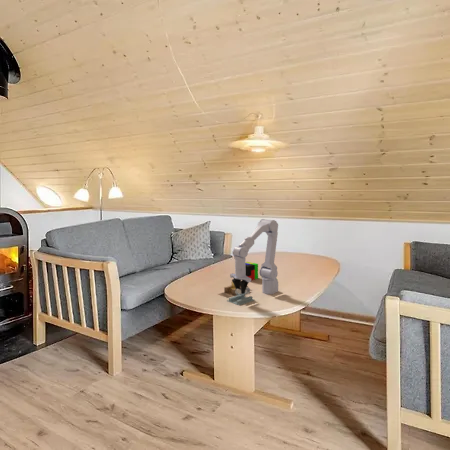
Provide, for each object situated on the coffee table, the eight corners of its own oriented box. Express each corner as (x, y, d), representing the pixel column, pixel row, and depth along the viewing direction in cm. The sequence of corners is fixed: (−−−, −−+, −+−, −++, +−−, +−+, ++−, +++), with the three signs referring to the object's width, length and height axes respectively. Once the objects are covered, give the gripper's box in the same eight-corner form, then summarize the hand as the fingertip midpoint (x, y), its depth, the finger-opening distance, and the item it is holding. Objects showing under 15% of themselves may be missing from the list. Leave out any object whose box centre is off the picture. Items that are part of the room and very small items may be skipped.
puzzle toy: (237, 278, 252) (237, 264, 251) (247, 275, 259) (247, 261, 258) (247, 281, 245) (247, 266, 244) (258, 278, 252) (258, 263, 251)
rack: (242, 297, 212) (242, 293, 212) (254, 301, 205) (254, 297, 205) (226, 302, 205) (226, 297, 204) (239, 306, 197) (239, 302, 197)
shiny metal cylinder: (245, 292, 209) (245, 286, 209) (249, 294, 207) (250, 288, 206) (235, 294, 204) (235, 288, 204) (239, 296, 201) (240, 289, 201)
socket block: (241, 288, 230) (241, 282, 229) (252, 291, 223) (252, 285, 222) (217, 295, 216) (217, 288, 216) (227, 299, 210) (227, 292, 209)
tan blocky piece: (233, 291, 221) (233, 281, 220) (237, 292, 219) (237, 282, 218) (229, 292, 219) (229, 282, 218) (234, 293, 217) (233, 283, 216)
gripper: (226, 267, 205) (226, 290, 207) (244, 272, 194) (244, 296, 196) (235, 265, 210) (235, 288, 211) (253, 269, 199) (253, 294, 201)
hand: (240, 292), depth 204 cm, fingers closed on shiny metal cylinder, 4 cm apart
